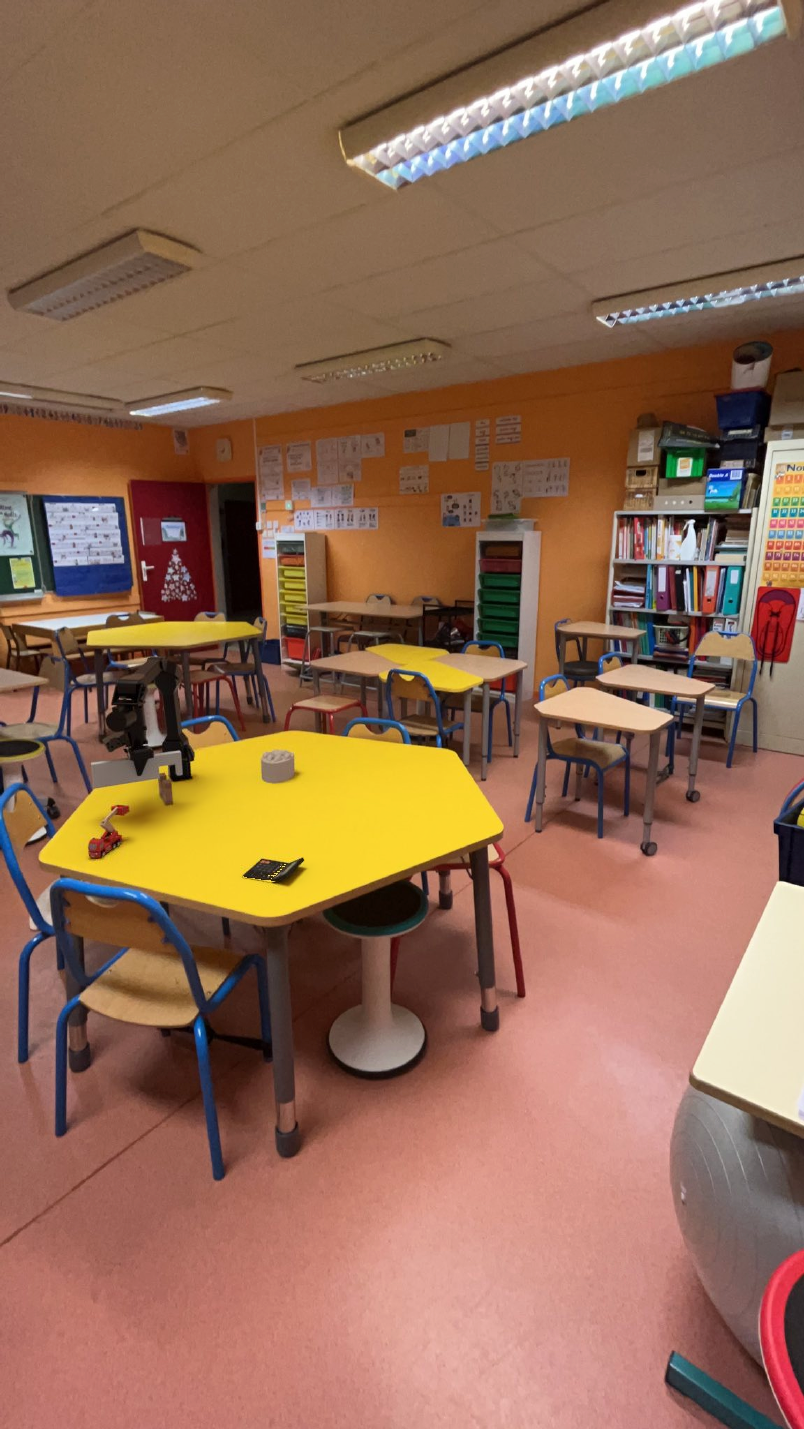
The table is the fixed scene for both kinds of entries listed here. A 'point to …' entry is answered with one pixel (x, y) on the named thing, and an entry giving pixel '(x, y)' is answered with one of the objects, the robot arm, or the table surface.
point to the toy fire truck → (107, 834)
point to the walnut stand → (165, 789)
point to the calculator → (272, 869)
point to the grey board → (132, 769)
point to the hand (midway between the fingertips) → (138, 774)
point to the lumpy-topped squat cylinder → (277, 766)
